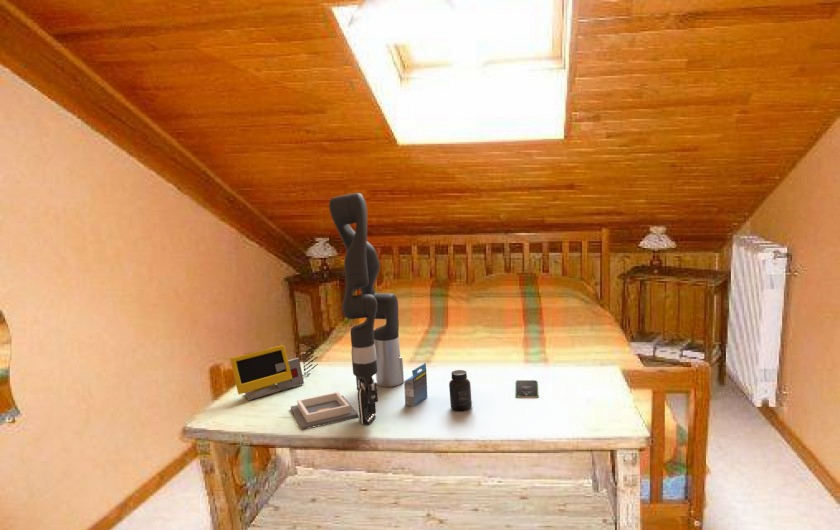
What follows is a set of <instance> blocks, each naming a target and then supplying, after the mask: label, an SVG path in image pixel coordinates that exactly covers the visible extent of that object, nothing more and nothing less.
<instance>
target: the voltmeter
mask: <svg viewBox="0 0 840 530" xmlns="http://www.w3.org/2000/svg"><path fill="white" fill-rule="evenodd" d="M317 347H318V344H316V345H314V346H313V347H312V348H310V349H309V350H307V351H306V352H304V353H302V354H301V355H302V359H303V370H302V367H301V360H300V358H299V357H296V358H292V359H288V363H289V367H290V371H291V375H292V379H290V380H287V381H284V382H280V383H277V384H276V385H277V387H278V388H280V390H282V391H285V390H287V389H291V388H294V387H296V386H299V385H302V384H303V385H304V384H305V381H304V376H306V375H307V377H309V376H310V375H311V373H309V371H311V370H314V368H316V367H317V366H318V363H316V364H315V365H314V366H313V364H311V363H313V362H314V361H316V360H317V359H318V358H319V357H318V356H316V357H314V355H312V352H311V351H313V350H314V349H316V348H317ZM308 353H309V354H308ZM305 355H306V356H305ZM311 355H312V356H311ZM307 358H308V359H307ZM312 358H313V359H312ZM305 359H306V360H305ZM308 361H309V362H308ZM306 362H307V363H306ZM305 363H306V364H305ZM309 364H310V365H309ZM312 366H313V367H312ZM275 367H276V371H277V372H279V371H281V370H284V369H286V366H285V362H283V363H280V364H276V365H275ZM309 368H310V369H309ZM308 369H309V370H308ZM306 370H308V371H306ZM302 371H303V372H304V375H303V372H302ZM284 389H285V390H284Z"/></svg>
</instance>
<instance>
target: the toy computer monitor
mask: <svg viewBox="0 0 840 530" xmlns="http://www.w3.org/2000/svg"><path fill="white" fill-rule="evenodd" d="M229 360H230V366H231V369H232V373H233V377H234V382H235V387H236V390H237V394H238V395H242V394H245V396H246V397H247V400H248V401H251V400H255V399H258V398H261V397H264V396H267V395H271V394H274V393H278V392H281V391H285V390H286V389H284V390H280V388H278V387H277V383H280V382H284V381H287V380H290V379H292V375H291V371H290V367H289V363H288V360H289V358H288V354H287V352H286V346H285V344H282V345H278V346H273V347H271V346H270V347H269V346H268V347H264V348H262V349H258V350H253V351H250V352H244V353H243V354H241V355H238V356H234V357H230V359H229ZM283 362H285V366H286V369H284V370H281V371H279V372H277V371H276V367H275V365H276V364H280V363H283Z"/></svg>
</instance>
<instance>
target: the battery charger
mask: <svg viewBox="0 0 840 530" xmlns="http://www.w3.org/2000/svg"><path fill="white" fill-rule="evenodd" d="M366 392H367V393H368V390H366ZM371 398H373V396H371ZM357 404H358V415H359V424H360V425H367V426H368V425H370V424H372V422H374V420H375V419H376V413H375V414H371V415H370V414H369V413H368V402H367V396H365V394H364V391H363V388H362V387H360V388H359V390H357Z"/></svg>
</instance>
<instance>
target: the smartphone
mask: <svg viewBox="0 0 840 530" xmlns="http://www.w3.org/2000/svg"><path fill="white" fill-rule="evenodd" d="M538 383H539V382H538V380H535V379H534V380H533V379H531V380H526V379H525V380H524V379H522V380H519V379H518V380H516V381H515V392H514V393H515V396H514V397H515V398H517V399H538V398H539V396H540V395H539V384H538Z"/></svg>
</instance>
